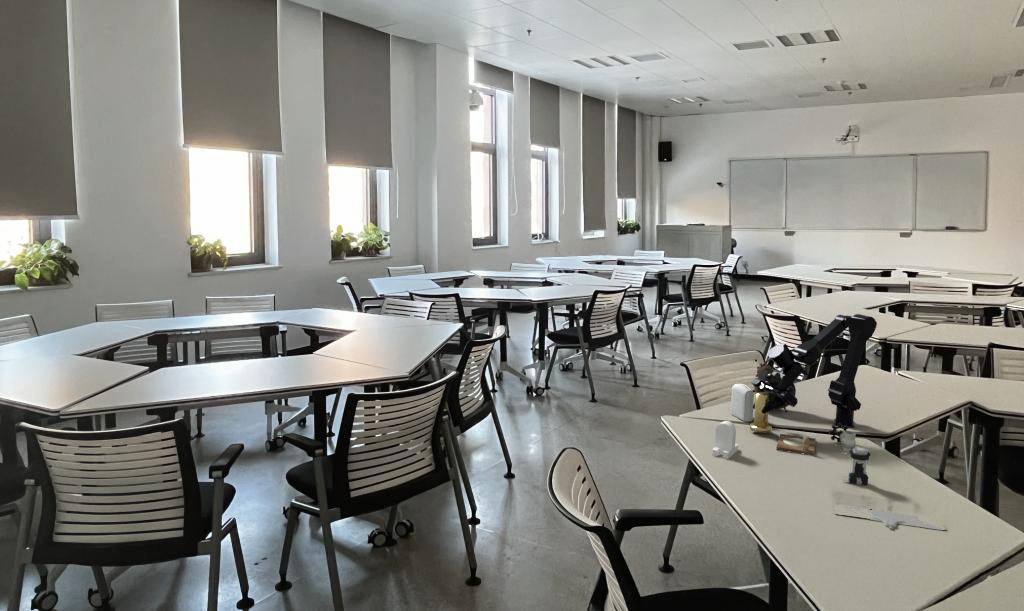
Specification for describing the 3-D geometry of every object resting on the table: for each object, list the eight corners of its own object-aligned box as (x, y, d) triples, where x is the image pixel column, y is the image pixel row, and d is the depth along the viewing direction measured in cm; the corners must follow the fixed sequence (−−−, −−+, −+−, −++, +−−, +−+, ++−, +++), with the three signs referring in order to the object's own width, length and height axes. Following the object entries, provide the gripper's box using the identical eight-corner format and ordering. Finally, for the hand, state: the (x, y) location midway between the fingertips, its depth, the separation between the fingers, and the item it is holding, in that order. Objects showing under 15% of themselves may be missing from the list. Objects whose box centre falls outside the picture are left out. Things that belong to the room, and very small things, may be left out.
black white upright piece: (844, 485, 198) (847, 451, 197) (840, 478, 204) (842, 444, 202) (870, 487, 197) (873, 453, 195) (865, 480, 202) (868, 446, 200)
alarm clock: (755, 412, 265) (758, 360, 262) (752, 406, 272) (755, 356, 269) (796, 414, 262) (799, 361, 259) (792, 408, 269) (795, 357, 266)
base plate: (780, 436, 238) (780, 422, 238) (815, 441, 234) (816, 426, 233) (776, 450, 226) (777, 435, 225) (813, 455, 221) (814, 440, 220)
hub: (770, 433, 237) (772, 397, 235) (748, 430, 240) (750, 395, 238) (773, 425, 245) (774, 390, 243) (751, 422, 248) (753, 388, 246)
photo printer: (728, 413, 263) (730, 381, 261) (739, 413, 264) (741, 380, 262) (743, 422, 253) (745, 388, 251) (754, 421, 254) (756, 388, 252)
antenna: (835, 522, 177) (835, 518, 176) (829, 489, 198) (830, 485, 198) (950, 540, 168) (951, 535, 168) (931, 502, 189) (932, 498, 189)
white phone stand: (711, 455, 221) (712, 424, 220) (722, 446, 229) (723, 416, 228) (728, 459, 218) (729, 428, 217) (738, 449, 226) (739, 419, 225)
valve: (860, 455, 221) (848, 442, 233) (862, 435, 220) (850, 423, 232) (838, 454, 222) (827, 441, 234) (840, 434, 221) (829, 422, 233)
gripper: (756, 355, 248) (728, 388, 247) (791, 367, 230) (761, 403, 229) (775, 375, 251) (746, 408, 250) (811, 389, 234) (780, 424, 232)
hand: (758, 410), depth 240 cm, fingers closed on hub, 4 cm apart
